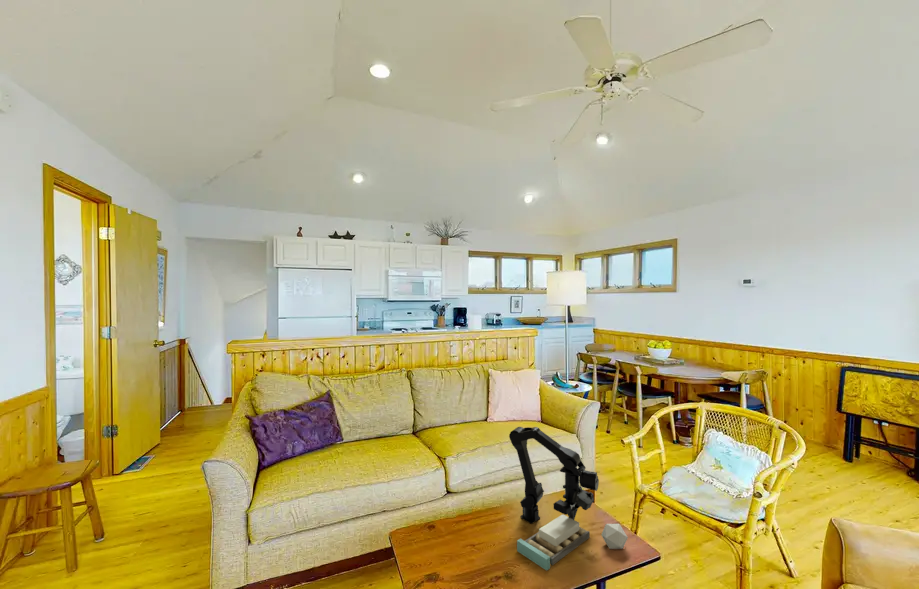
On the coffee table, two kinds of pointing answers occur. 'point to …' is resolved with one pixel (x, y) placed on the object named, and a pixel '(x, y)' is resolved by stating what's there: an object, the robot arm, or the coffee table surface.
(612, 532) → the die
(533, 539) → the roller bed
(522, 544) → the stop bar
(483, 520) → the coffee table surface
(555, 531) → the slab
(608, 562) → the coffee table surface
